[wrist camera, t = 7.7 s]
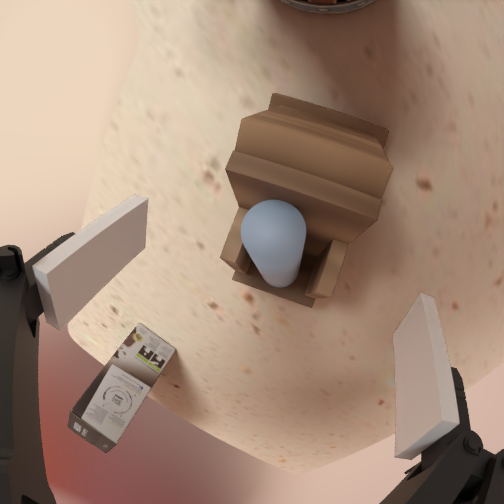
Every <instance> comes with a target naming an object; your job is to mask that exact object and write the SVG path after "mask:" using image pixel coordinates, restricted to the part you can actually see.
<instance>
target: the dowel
mask: <svg viewBox="0 0 504 504" xmlns="http://www.w3.org/2000/svg"><path fill="white" fill-rule="evenodd" d="M305 238H306V224H305V221H304V218H303V216H302V215H301V213H300V212H299V211H298V209H297V208H295V207H294V206H293V205H291V204H289V203H287V202H285V201H281V200H266V201H263V202H260V203H258V204H256V205H255V206H253V207H252V208H251V209H250V210H249V211H248V212H247V214H246V215H245V217H244V219H243V221H242V225H241V239H242V242H243V244H244V246H245V248H246V250H247V251H248V253H249V255H250V257H251V258H252V260H253V262H254V263H255V265H256V267H257V268H258V270H259V272H260V273H261V275H262V277H263V278H264V280H265V281H266V282H267V283H268V284H269V285H271V286H273V287H276V288H284V287H287V286H289V285H291V284H292V283H293V282H294V281H295V280H296V278H297V276H298V273H299V268H300V263H301V258H302V253H303V248H304V243H305Z"/></svg>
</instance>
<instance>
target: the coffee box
mask: <svg viewBox="0 0 504 504" xmlns="http://www.w3.org/2000/svg"><path fill="white" fill-rule="evenodd" d="M174 352H175V348H173V347H172V346H170V345H169V344H168V343H166V342H165V341H164V340H162V339H161V338H159V337H158V336H157V335H155V334H154V333H153V332H151V331H150V330H149V329H147V328H146V327H145V326H144V325H142V324H140V323H139V324H138V325H137V326H136V327H135V329H134V330H133V331H132V332H131V333H130V335H129V336H128V337H127V338H126V340H125V341H124V342H123V343H122V345H121V346H120V347H119V348H118V350H117V351H116V352H115V354H114V355H113V356H112V357H111V359H110V360H109V361H108V363H107V364H106V365H105V366H104V368H103V369H102V370H101V372H100V373H99V374H98V376H97V377H96V378H95V379H94V381H93V382H92V383H91V385H90V386H89V387H88V388H87V390H86V391H85V393H84V394H83V395H82V396H81V398H80V399H79V400H78V402H77V403H76V405H75V406H74V407H73V408H72V410H70V415H69V422H68V427H69V428H70V429H71V430H72V431H74V432H75V433H76V434H78V435H79V436H80V437H82V438H83V439H85V440H86V441H88V442H89V443H91V444H92V445H94V446H96V447H97V448H99V449H100V450H102V451H103V452H105V453H107V452H108V451H110V450H111V449H112V448H113V447H114V446H115V445H116V444H117V443H118V441H119V439H120V438H121V436H122V434H123V433H124V431H125V429H126V428H127V427H128V425H129V423H130V422H131V420H132V419H133V417H134V415H135V414H136V412H137V411H138V409H139V407H140V406H141V404H142V402H143V401H144V399H145V398H146V396H147V395H148V393H149V391H150V390H151V388H152V387H153V385H154V384H155V382H156V380H157V379H158V377H159V376H160V374H161V372H162V371H163V369H164V368H165V366H166V364H167V363H168V361H169V360H170V358H171V357H172V355H173V353H174Z"/></svg>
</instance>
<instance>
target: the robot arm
mask: <svg viewBox="0 0 504 504" xmlns="http://www.w3.org/2000/svg"><path fill="white" fill-rule="evenodd" d="M147 209H148V198H145V197H142V196H139V195H136V194H135V195H133V196H131V197H130V198H128V199H127V200H125V201H123V202H122V203H120V204H119V205H117V206H116V207H114V208H113V209H111V210H110V211H108V212H107V213H105V214H104V215H102V216H101V217H99V218H98V219H96V220H95V221H93V222H92V223H90V224H89V225H87V226H86V227H85V228H83V229H82V230H80V231H79V232H78V233H73V232H72V233H69V234H66V235H63V236H61V237H60V238H58V239H57V240H56V241H54V242H53V244H50V245H49V246H47V247H46V249H45V248H44V249H43V250H42V251H40V252H39V253H38V254H36V255H35V256H34V257H33V258H31V259H30V260H28V261H27V262H26V263H24V261H23V256H22V251H21V249H20V248H19V247H17V246H15V245H6V246H2V247H0V504H56V501H55V498H54V495H53V493H52V491H51V489H50V487H49V485H48V481H47V477H46V470H45V463H44V456H43V448H42V440H41V429H40V417H39V397H38V346H39V326H40V322H39V318H38V317H39V316H40V315H41V314H42V313H43V312H44V314H45V318H46V321H47V323H48V324H50V325H52V326H53V327H55V328H56V329H58V330H60V331H61V330H62V329H63V328H64V326H65V325H66V324H67V323H68V322H69V321H70V320H71V319H72V318H73V317H74V316H75V315H76V314H77V313H78V312H79V311H80V310H81V309H82V308H83V307H84V306H85V305H86V304H87V303H88V302H89V301H90V300H91V299H92V298H93V297H94V296H95V295H96V294H97V293H98V292H99V291H100V290H101V289H102V288H103V287H104V286H105V285H106V284H107V283H108V282H109V281H110V280H111V279H112V278H113V277H114V276H116V275H117V274H118V273H119V272H120V271H121V270H122V269H123V268H124V267H125V266H126V265H127V264H128V263H129V262H130V261H131V260H132V259H133V258H135V257H136V256H137V255H138V254H139V253H140V252H141V251H142V250H143V249H144V248H145V244H146V225H147ZM393 349H394V366H395V397H396V431H395V457H396V458H402V459H409V460H412V459H413V458H415V457H416V456H418V455H419V454H421V456H422V457H421V462H419V463H418V464H417V465H415V466H413V467H412V468H410V469H409V470H407V471H406V472H405V474H407V473H409V474H408V475H407V476H406V477H405V478H404V479H403V480H402V481H401V482H400V484H399V485H397V486H396V488H395V489H394V490H393V491H392V492H391V493H390V494H389V495H388V496H387V497H386V498H385V499H384V500H383V501H382V502H381V503H380V504H504V449H502V450H501V451H500V452H498V453H497V454H492V453H491V452H489V451H487V450H485V449H483V444H482V440H481V438H480V437H479V436H478V435H477V433H475V432H474V431H471V428H470V421H469V414H468V408H467V402H466V400H465V399H466V397H465V392H464V386H463V381H462V378H461V376H460V374H459V372H458V370H457V368H453V367H450V362H449V357H448V352H447V348H446V343H445V339H444V335H443V331H442V326H441V322H440V319H439V315H438V311H437V307H436V304H435V300H434V298H433V297H431V296H428V295H425V294H423V293H420V294H419V295H418V297H417V299H416V300H415V302H414V303H413V305H412V307H411V308H410V310H409V311H408V313H407V314H406V316H405V317H404V319H403V320H402V322H401V323H400V325H399V326H398V328H397V329H396V331H395V332H394V334H393ZM476 500H477V501H476Z"/></svg>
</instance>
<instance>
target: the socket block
mask: <svg viewBox="0 0 504 504" xmlns="http://www.w3.org/2000/svg"><path fill="white" fill-rule="evenodd" d="M388 134H389V131H388V130H387V129H385V128H382V127H380V126H377V125H374V124H372V123H369V122H366V121H364V120H361V119H358V118H355V117H352V116H350V115H347V114H344V113H341V112H338V111H335V110H332V109H329V108H326V107H322V106H319V105H316V104H313V103H309V102H306V101H302V100H299V99H295V98H292V97H288V96H285V95H281V94H277V93H273V94H272V97H271V101H270V105H269V109H268V110H266V111H263V112H260V113H257V114H254V115H251V116H248V117H245V118H242V120H241V124H240V129H239V133H238V138H237V142H236V147H235V151H233V152H232V154H231V157H230V159H229V161H228V164H227V166H226V168H225V170H226V173H227V175H228V178H229V181H230V183H231V186H232V189H233V192H234V194H235V197H236V200H237V202H238V205H239V208H238V211H237V214H236V216H235V219H234V221H233V224H232V227H231V229H230V232H229V235H228V237H227V240H226V242H225V245H224V248H223V250H222V253H221V256H220V258H221V259H222V260H223V261H225V262H226V263H227V264H228V265H229V266H231V267H232V268H233V269H234V270H235V273H234V275H233V278H232V280H235V281H237V282H240V283H243V284H246V285H248V286H251V287H254V288H257V289H259V290H262V291H265V292H268V293H271V294H274V295H276V296H279V297H282V298H285V299H288V300H291V301H294V302H296V303H299V304H302V305H305V306H308V307H311V308H312V307H313V304H314V301H315V299H317V298H326V297H332V294H333V291H334V288H335V285H336V282H337V279H338V276H339V273H340V270H341V266H342V263H343V260H344V257H345V254H346V250H347V247H348V244H349V243H350V242H352V241H353V240H354V239H355V238H357V237H358V236H359V235H360V234H361V233H363V232H364V231H365V230H366V229H367V228H368V227H370V226H371V225H372V224H373V223H374V222H376V221H377V219H378V215H379V211H380V207H381V203H382V200H381V198H382V196H383V193H384V191H385V188H386V186H387V183H388V181H389V178H390V176H391V173H392V170H393V167H392V165H391V163H390V161H389V159H388V158H387V156H386V154H385V152H384V150H383V149H384V146H385V143H386V140H387V137H388ZM266 200H281V201H285V202H287V203H289V204H291V205H293V206H294V207H295V208H297V209H298V211H299V212H300V213H301V215H302V216H303V218H304V221H305V224H306V238H305V243H304V248H303V253H302V258H301V263H300V268H299V273H298V276H297V278H296V280H295V281H294V282H293V283H292V284H291V285H289V286H287V287H284V288H276V287H273V286H271V285H269V284H268V283H267V282H266V281H265V280H264V278H263V277H262V275H261V273H260V272H259V270H258V268H257V267H256V265H255V263H254V262H253V260H252V258H251V257H250V255H249V253H248V251H247V250H246V248H245V246H244V244H243V242H242V239H241V225H242V221H243V219H244V217H245V215H246V214H247V212H248V211H249V210H250V209H251V208H252V207H253V206H255V205H256V204H258V203H260V202H263V201H266Z"/></svg>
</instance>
